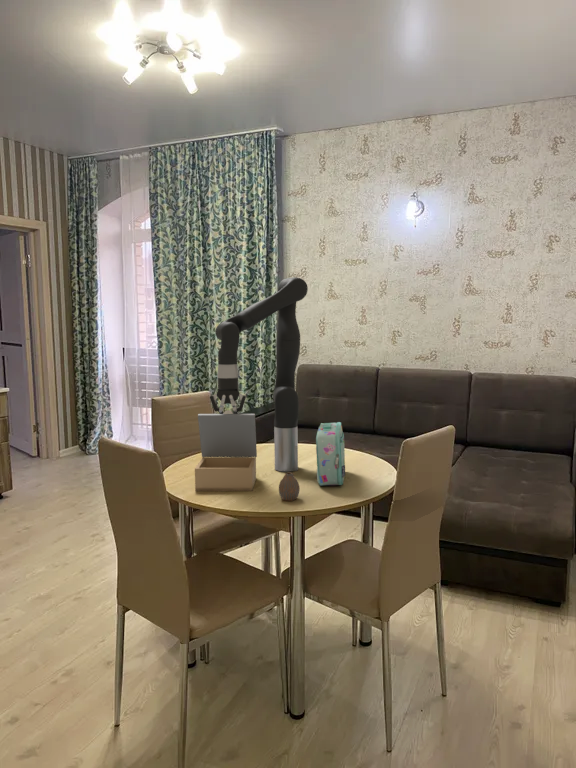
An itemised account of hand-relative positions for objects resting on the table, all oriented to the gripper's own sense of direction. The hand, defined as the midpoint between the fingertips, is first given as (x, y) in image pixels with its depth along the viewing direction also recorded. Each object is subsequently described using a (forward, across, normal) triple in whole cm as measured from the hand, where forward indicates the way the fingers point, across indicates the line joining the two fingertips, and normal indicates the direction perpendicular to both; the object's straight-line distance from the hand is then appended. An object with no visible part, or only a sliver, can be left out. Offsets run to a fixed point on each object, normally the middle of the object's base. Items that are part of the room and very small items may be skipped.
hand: (228, 422), depth 210 cm
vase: (+22, -23, +25) cm, 40 cm away
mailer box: (+22, 0, +8) cm, 23 cm away
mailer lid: (+5, 0, +3) cm, 6 cm away
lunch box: (+22, -38, +2) cm, 44 cm away
